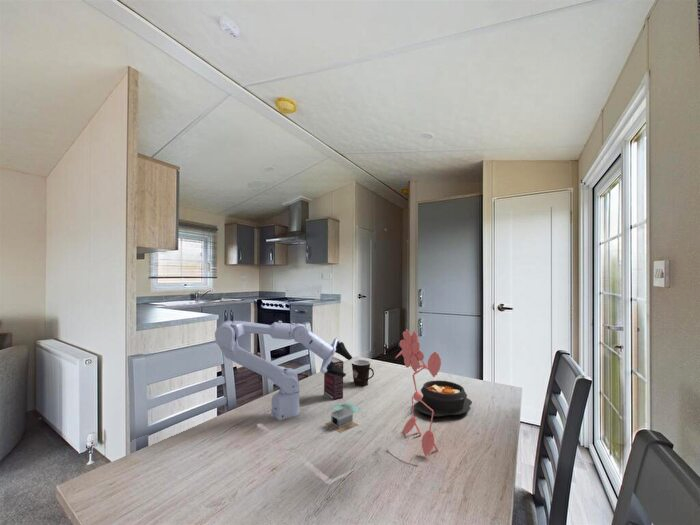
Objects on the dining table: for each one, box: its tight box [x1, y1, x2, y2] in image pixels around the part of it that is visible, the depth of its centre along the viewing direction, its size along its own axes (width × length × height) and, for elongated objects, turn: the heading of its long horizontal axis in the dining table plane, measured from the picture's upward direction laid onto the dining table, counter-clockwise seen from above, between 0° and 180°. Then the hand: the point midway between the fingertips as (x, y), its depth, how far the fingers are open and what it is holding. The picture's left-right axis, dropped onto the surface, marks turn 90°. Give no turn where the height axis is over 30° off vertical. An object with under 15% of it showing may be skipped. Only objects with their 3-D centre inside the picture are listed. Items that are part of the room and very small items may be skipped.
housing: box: [330, 408, 354, 429], centre depth 108 cm, size 6×4×4 cm, turn 131°
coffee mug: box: [351, 359, 375, 388], centre depth 147 cm, size 12×9×10 cm
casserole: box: [413, 380, 473, 417], centre depth 123 cm, size 25×19×8 cm
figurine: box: [387, 328, 442, 467], centre depth 97 cm, size 15×26×35 cm, turn 19°
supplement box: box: [323, 356, 344, 401], centre depth 133 cm, size 9×5×16 cm, turn 31°
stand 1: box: [331, 402, 362, 414], centre depth 120 cm, size 8×8×1 cm
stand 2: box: [325, 421, 359, 434], centre depth 108 cm, size 8×8×1 cm
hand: (347, 367), depth 122 cm, fingers open, 7 cm apart
